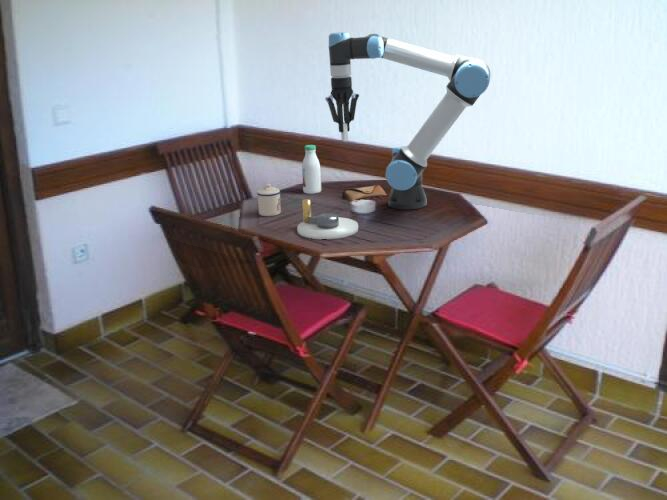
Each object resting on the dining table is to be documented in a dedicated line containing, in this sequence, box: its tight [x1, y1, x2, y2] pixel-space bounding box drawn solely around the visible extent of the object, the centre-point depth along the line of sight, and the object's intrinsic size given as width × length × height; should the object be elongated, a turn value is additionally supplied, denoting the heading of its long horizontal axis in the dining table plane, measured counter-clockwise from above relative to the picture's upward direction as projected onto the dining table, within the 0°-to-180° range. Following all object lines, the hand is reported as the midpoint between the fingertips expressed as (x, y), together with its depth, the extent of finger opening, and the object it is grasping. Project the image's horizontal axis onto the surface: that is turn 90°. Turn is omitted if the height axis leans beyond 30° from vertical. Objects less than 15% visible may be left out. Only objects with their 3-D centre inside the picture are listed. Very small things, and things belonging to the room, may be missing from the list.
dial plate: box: [296, 216, 359, 240], centre depth 281 cm, size 22×22×2 cm
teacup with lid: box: [256, 183, 282, 217], centre depth 304 cm, size 12×9×12 cm
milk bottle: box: [301, 144, 322, 195], centre depth 329 cm, size 8×8×20 cm
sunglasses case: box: [342, 184, 388, 202], centre depth 322 cm, size 18×7×7 cm, turn 116°
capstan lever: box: [301, 198, 339, 228], centre depth 281 cm, size 14×8×8 cm, turn 56°
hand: (344, 140), depth 292 cm, fingers closed
